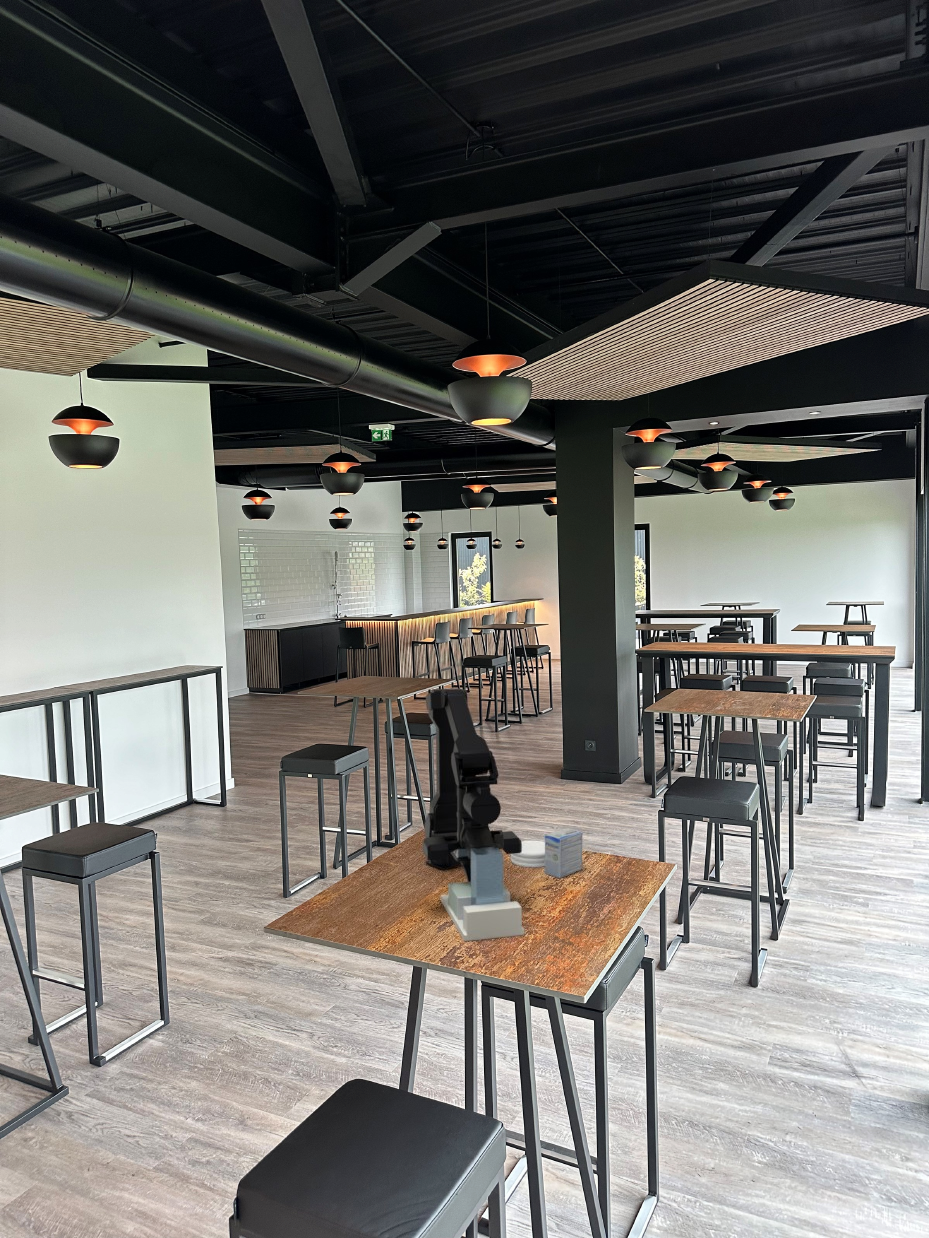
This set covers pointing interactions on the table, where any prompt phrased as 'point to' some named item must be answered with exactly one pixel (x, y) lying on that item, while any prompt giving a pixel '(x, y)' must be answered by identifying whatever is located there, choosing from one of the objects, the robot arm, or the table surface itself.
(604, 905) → the table surface
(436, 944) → the table surface
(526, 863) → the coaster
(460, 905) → the block
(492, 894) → the slate-blue block
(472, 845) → the robot arm
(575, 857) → the medicine box
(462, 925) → the vise bed
